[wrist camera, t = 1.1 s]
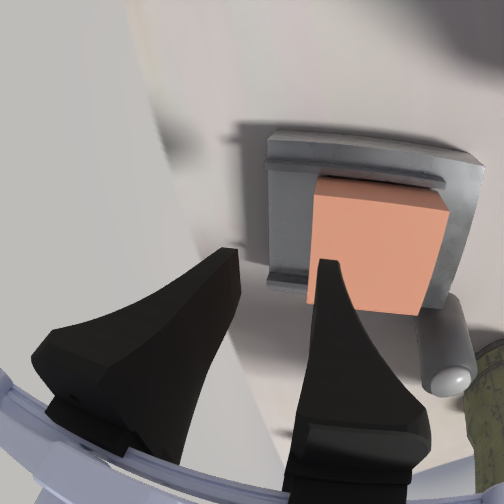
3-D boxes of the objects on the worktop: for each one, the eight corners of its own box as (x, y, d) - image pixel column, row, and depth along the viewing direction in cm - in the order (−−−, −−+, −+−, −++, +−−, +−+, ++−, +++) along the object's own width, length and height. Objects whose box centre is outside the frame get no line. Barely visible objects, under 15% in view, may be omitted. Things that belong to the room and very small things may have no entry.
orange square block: (437, 190, 15) (449, 211, 13) (412, 287, 18) (417, 315, 16) (318, 176, 16) (314, 194, 14) (311, 276, 20) (306, 303, 18)
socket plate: (470, 153, 15) (490, 171, 13) (435, 286, 21) (443, 317, 18) (275, 130, 18) (263, 143, 16) (277, 267, 24) (266, 297, 21)
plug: (467, 294, 21) (489, 367, 15) (450, 330, 23) (463, 401, 17) (422, 289, 21) (435, 365, 16) (408, 327, 24) (414, 401, 18)
